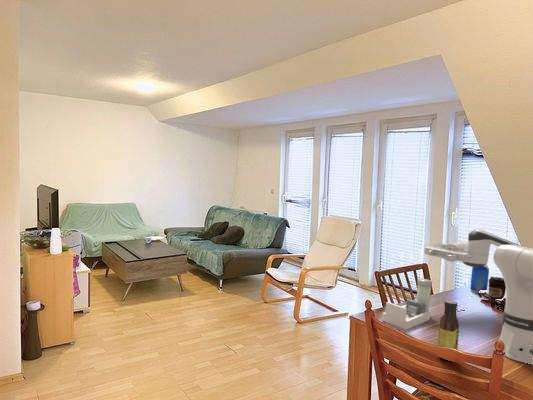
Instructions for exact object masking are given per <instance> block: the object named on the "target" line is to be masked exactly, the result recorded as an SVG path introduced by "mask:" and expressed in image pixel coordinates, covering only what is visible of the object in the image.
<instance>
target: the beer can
mask: <svg viewBox="0 0 533 400" xmlns="http://www.w3.org/2000/svg"><path fill="white" fill-rule="evenodd" d="M489 276H490V269H489V267H488V264H486V265H485V266H483V267H471V277H470V287H469V289H470V291H471V292H472V293H474V294H476V295H477V294H478V293H479V291H480V290H487V291H488V288H489ZM478 295H479V294H478Z"/></svg>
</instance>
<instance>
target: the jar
mask: <svg viewBox="0 0 533 400" xmlns="http://www.w3.org/2000/svg"><path fill="white" fill-rule="evenodd" d="M432 286H433V281H432V280H430V279H426V278H418V279H417V288H416V289H417V290H416V292H417V293H416V300H415V302H418V303H421V304H425V305H426V306H425V312H427V311H429V312H430V303H431V302H430V301H431V290H432Z"/></svg>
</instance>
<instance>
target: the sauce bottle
mask: <svg viewBox="0 0 533 400" xmlns="http://www.w3.org/2000/svg"><path fill="white" fill-rule="evenodd" d="M457 308H458V302H457V301H454V300H450V299H449V300H448V299H447V300H444V311H443V313H444V314H443V315H442V316H441V317H440V320H439V326H438V338H437V339H438V340H437V346H438V345H439V346H443V347H448V348H452V349H456V350H457V351H458V348H459V347H458V346H459V336H460V335H459V333H460V324H459V320H458V317H457Z"/></svg>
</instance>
